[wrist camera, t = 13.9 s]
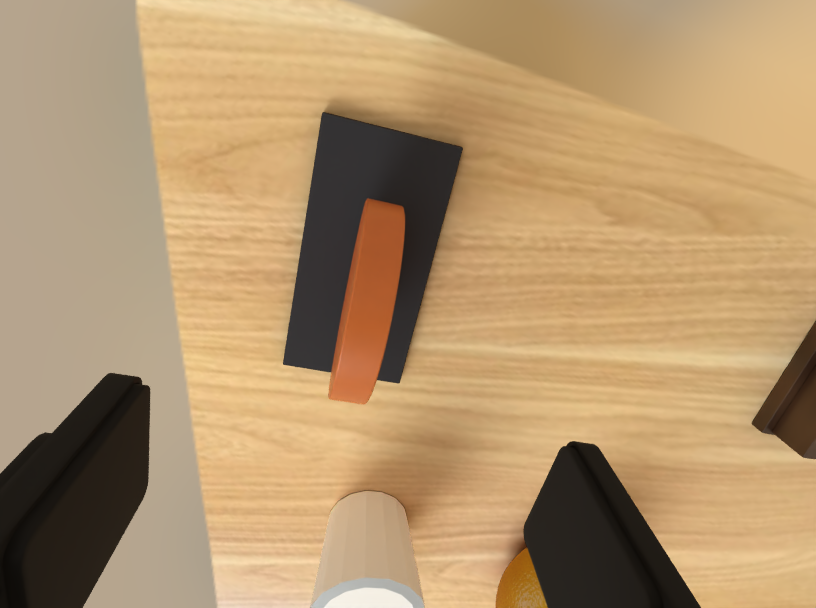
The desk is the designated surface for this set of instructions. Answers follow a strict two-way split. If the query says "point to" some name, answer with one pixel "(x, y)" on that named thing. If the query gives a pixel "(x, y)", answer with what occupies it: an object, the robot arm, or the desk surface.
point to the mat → (339, 222)
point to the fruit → (520, 585)
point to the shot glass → (367, 556)
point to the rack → (794, 402)
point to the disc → (368, 302)
